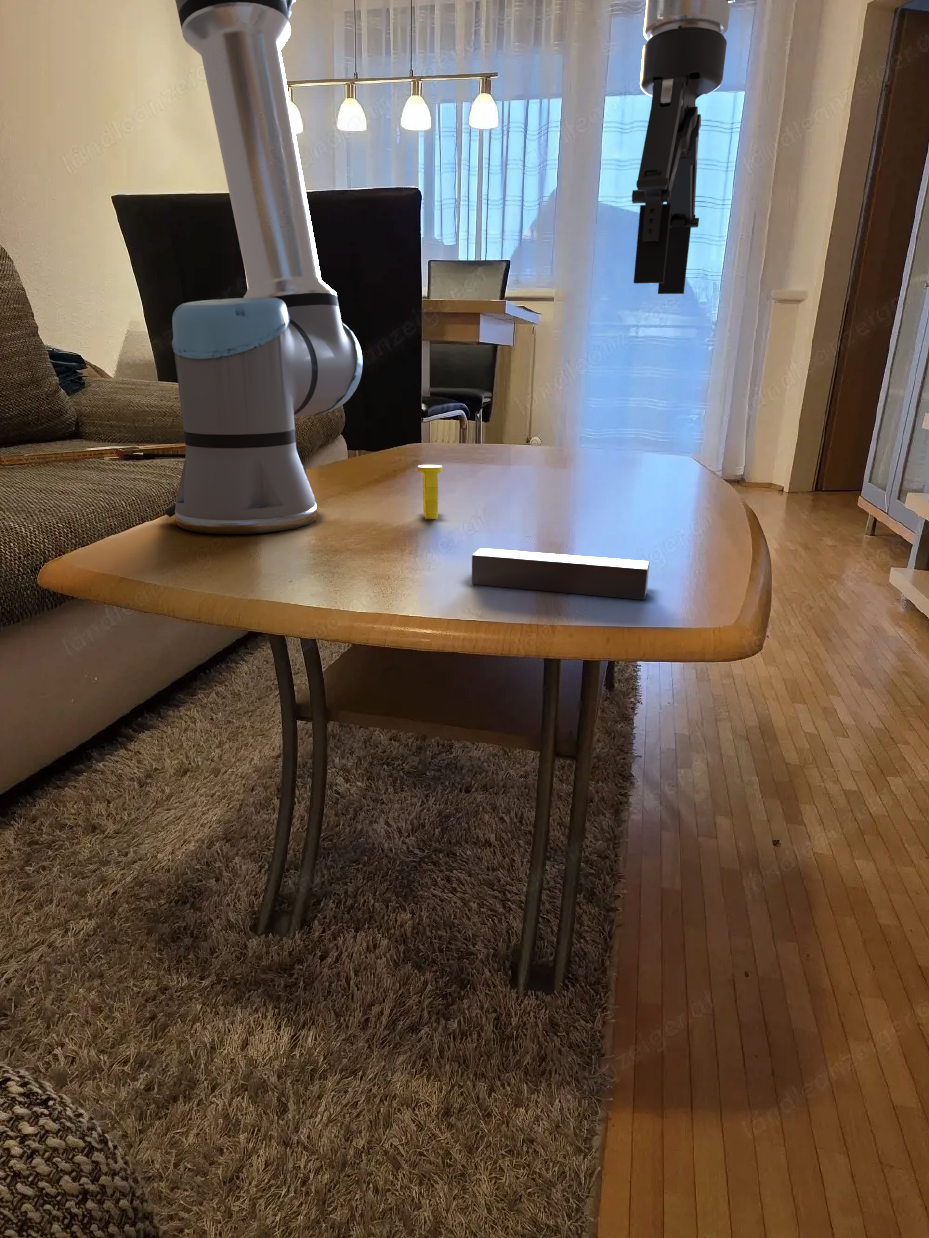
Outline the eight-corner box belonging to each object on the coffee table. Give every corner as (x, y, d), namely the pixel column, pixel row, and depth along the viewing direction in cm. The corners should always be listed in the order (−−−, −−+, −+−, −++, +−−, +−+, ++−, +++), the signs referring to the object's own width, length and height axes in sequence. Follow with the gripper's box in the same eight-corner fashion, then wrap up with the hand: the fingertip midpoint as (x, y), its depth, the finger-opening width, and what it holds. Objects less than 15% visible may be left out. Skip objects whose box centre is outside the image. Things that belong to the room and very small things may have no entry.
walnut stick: (471, 584, 62) (471, 554, 62) (479, 576, 65) (480, 547, 64) (644, 600, 59) (647, 569, 58) (646, 591, 61) (649, 561, 60)
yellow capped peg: (444, 523, 85) (444, 469, 83) (419, 523, 85) (419, 469, 83) (440, 512, 90) (440, 462, 88) (417, 512, 90) (416, 462, 88)
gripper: (713, -28, 58) (681, 276, 65) (737, 78, 79) (711, 297, 86) (615, -13, 60) (595, 278, 67) (665, 85, 82) (645, 297, 89)
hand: (660, 289), depth 77 cm, fingers open, 13 cm apart
